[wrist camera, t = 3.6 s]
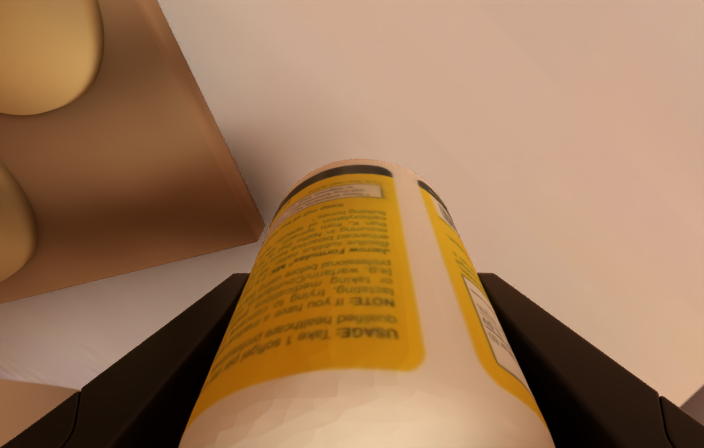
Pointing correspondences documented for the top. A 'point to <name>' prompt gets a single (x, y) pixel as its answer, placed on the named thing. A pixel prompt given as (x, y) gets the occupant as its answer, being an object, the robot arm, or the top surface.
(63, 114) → the board
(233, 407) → the supplement bottle
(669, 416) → the robot arm
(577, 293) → the top surface
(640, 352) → the top surface
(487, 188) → the top surface
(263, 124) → the top surface
